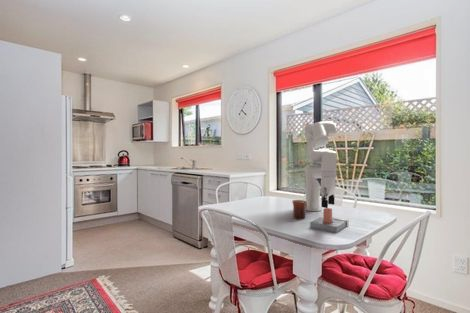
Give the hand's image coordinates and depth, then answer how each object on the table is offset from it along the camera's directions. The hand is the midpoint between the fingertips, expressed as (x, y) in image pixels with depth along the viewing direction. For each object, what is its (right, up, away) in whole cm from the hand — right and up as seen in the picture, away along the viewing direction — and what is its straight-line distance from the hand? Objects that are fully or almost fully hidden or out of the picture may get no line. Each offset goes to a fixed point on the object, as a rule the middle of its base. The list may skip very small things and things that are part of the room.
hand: (327, 205), depth 147 cm
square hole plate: (0, -11, -1) cm, 11 cm away
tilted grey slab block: (+8, -12, +6) cm, 15 cm away
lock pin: (0, -12, 0) cm, 11 cm away
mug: (-9, -11, +21) cm, 26 cm away
